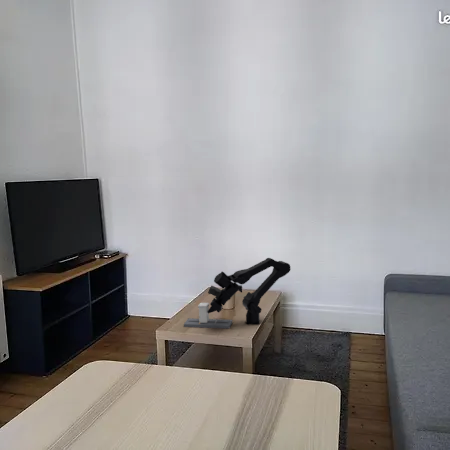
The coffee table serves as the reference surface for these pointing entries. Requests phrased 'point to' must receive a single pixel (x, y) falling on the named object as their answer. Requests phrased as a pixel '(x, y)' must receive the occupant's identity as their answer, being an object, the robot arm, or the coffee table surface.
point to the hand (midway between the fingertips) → (208, 312)
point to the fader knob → (203, 312)
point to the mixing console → (208, 323)
